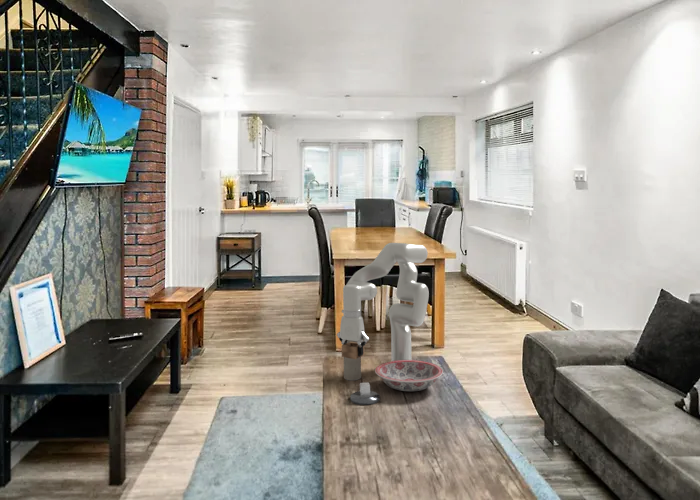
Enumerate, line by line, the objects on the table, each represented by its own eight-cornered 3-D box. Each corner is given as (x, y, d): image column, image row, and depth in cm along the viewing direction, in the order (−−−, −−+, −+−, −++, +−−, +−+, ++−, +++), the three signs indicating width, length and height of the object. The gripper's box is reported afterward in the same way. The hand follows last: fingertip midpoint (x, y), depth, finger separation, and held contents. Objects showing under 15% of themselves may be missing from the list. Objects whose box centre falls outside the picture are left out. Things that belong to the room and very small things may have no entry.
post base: (348, 395, 236) (348, 380, 235) (376, 393, 238) (376, 378, 237) (352, 406, 224) (352, 390, 224) (382, 403, 226) (382, 388, 225)
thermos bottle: (361, 374, 262) (360, 315, 259) (361, 380, 254) (360, 319, 252) (344, 374, 263) (343, 315, 260) (343, 380, 255) (342, 319, 252)
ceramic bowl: (446, 379, 254) (446, 362, 253) (438, 403, 226) (438, 383, 225) (383, 374, 262) (382, 358, 261) (368, 397, 234) (368, 378, 233)
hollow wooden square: (341, 356, 241) (341, 345, 240) (351, 352, 246) (350, 341, 246) (355, 359, 237) (355, 347, 236) (364, 355, 242) (364, 343, 242)
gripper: (330, 313, 241) (331, 353, 243) (364, 317, 232) (365, 359, 233) (340, 309, 247) (341, 349, 249) (374, 314, 238) (374, 355, 240)
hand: (353, 354), depth 241 cm, fingers closed on hollow wooden square, 7 cm apart
